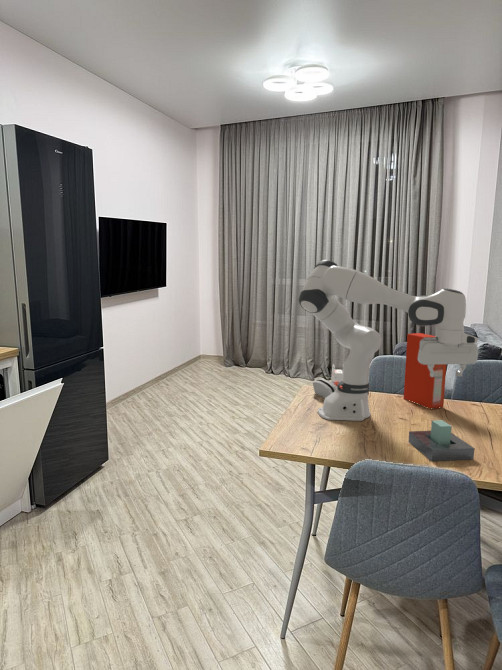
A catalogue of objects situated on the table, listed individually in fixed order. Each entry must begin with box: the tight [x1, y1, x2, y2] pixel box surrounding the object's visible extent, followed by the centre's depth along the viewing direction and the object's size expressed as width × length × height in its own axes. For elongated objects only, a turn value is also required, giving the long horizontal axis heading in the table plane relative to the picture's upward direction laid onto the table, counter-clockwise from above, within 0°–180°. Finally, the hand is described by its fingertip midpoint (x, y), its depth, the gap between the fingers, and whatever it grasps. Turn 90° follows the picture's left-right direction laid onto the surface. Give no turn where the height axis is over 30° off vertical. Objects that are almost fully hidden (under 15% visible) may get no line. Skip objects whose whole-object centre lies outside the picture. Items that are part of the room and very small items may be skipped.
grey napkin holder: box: [312, 378, 336, 399], centre depth 226 cm, size 17×5×10 cm, turn 25°
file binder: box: [403, 332, 447, 410], centre depth 218 cm, size 8×17×32 cm, turn 24°
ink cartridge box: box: [330, 363, 343, 390], centre depth 232 cm, size 9×5×15 cm, turn 178°
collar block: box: [408, 430, 475, 462], centre depth 165 cm, size 15×17×4 cm
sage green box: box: [430, 419, 452, 445], centre depth 165 cm, size 4×6×10 cm, turn 8°
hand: (445, 376), depth 161 cm, fingers open, 8 cm apart
